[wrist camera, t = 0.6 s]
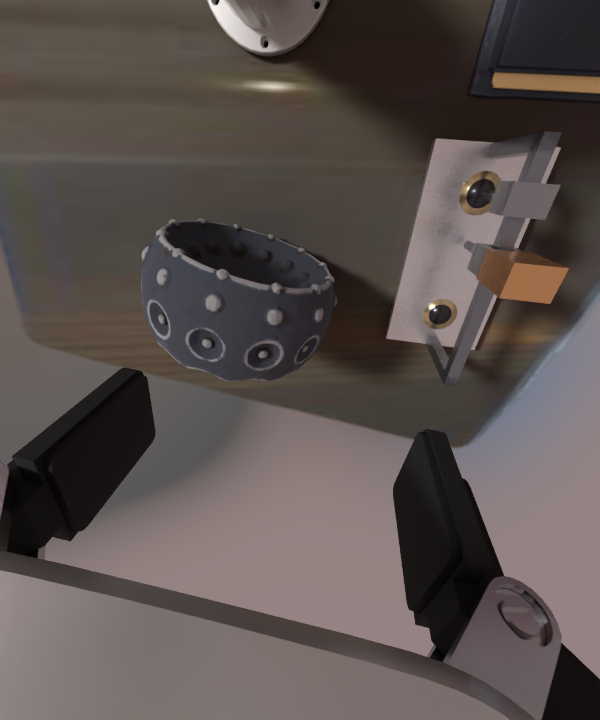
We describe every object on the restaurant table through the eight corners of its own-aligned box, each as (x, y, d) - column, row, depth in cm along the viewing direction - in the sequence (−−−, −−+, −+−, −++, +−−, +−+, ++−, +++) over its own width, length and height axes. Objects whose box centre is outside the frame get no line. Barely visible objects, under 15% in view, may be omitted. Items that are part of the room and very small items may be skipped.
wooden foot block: (454, 230, 34) (514, 262, 21) (487, 233, 34) (569, 268, 21) (446, 254, 36) (499, 298, 23) (478, 257, 35) (550, 303, 23)
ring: (200, 205, 39) (84, 228, 22) (347, 258, 40) (343, 320, 23) (191, 283, 45) (93, 349, 28) (320, 328, 46) (300, 419, 29)
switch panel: (432, 139, 32) (471, 122, 22) (552, 148, 31) (653, 134, 21) (385, 333, 44) (395, 382, 34) (470, 344, 43) (508, 398, 33)
